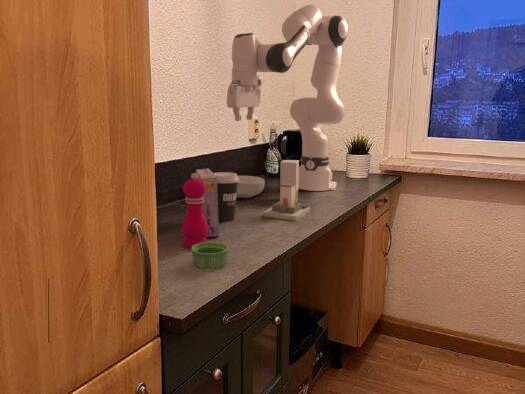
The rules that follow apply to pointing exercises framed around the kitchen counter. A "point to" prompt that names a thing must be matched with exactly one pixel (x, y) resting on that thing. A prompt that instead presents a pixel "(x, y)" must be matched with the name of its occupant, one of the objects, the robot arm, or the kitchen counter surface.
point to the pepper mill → (194, 212)
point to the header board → (287, 211)
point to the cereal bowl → (249, 186)
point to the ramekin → (209, 255)
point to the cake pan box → (210, 201)
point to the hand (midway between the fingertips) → (243, 120)
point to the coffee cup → (226, 195)
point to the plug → (287, 194)
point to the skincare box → (290, 173)
